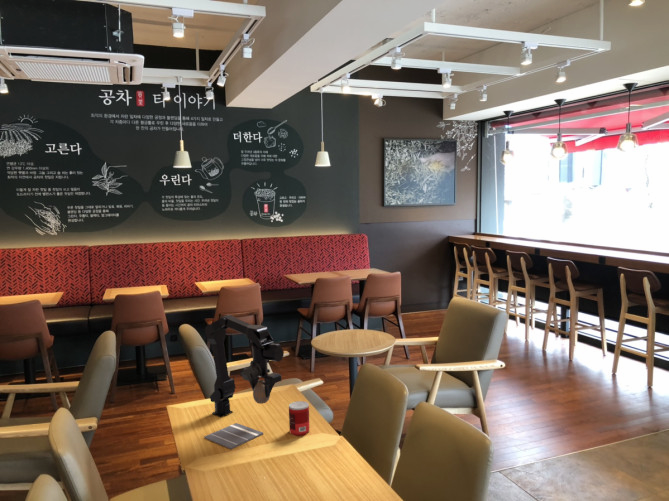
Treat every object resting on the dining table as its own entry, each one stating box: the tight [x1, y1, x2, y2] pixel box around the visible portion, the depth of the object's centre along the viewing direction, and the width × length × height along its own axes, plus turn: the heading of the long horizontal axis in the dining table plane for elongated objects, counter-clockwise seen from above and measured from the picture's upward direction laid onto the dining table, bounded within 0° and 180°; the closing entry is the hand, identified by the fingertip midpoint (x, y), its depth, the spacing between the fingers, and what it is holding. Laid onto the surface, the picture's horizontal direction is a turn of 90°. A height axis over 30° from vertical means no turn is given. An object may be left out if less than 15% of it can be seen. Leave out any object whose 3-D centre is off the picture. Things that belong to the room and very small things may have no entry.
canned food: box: [288, 400, 310, 437], centre depth 206 cm, size 8×8×11 cm
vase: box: [252, 379, 271, 405], centre depth 213 cm, size 7×7×9 cm
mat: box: [203, 422, 264, 450], centre depth 204 cm, size 16×16×1 cm
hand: (261, 395), depth 213 cm, fingers closed on vase, 7 cm apart
